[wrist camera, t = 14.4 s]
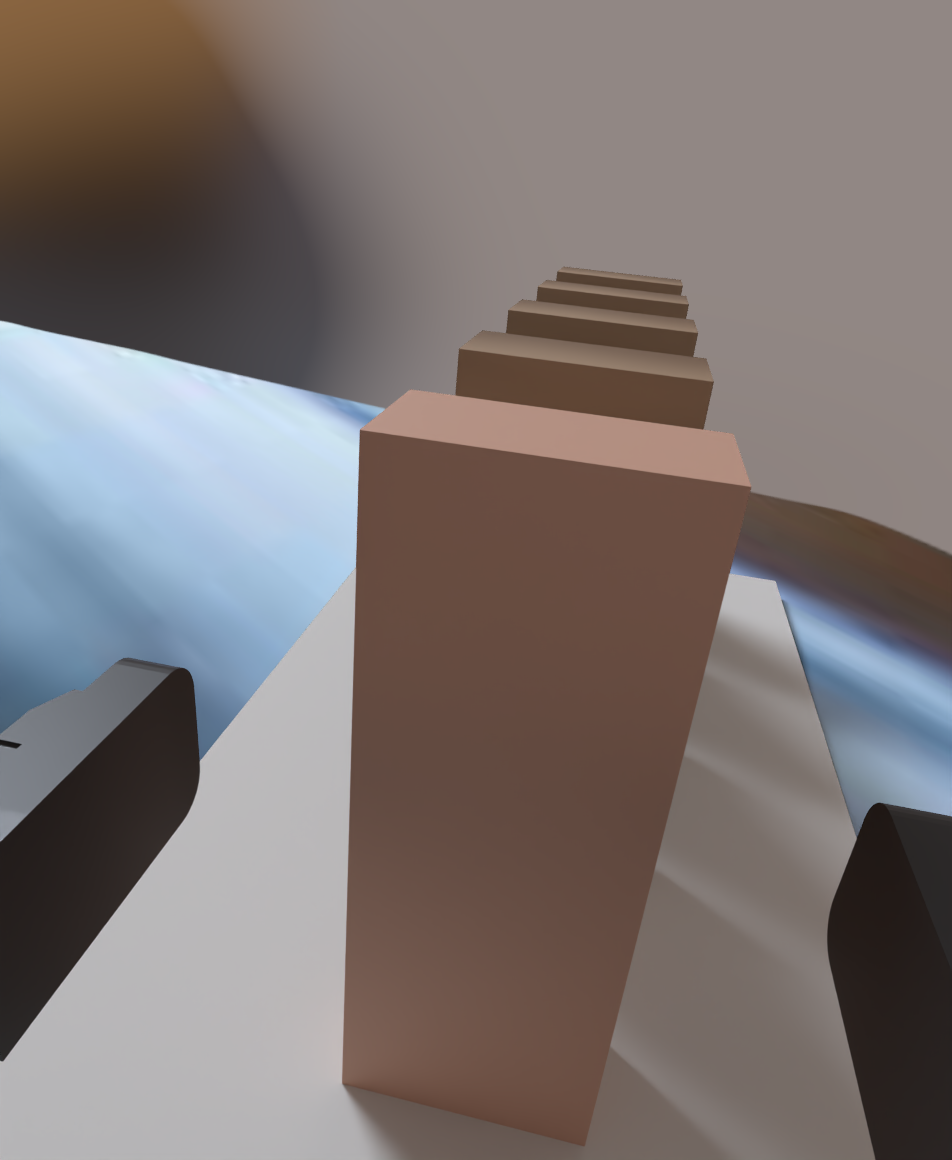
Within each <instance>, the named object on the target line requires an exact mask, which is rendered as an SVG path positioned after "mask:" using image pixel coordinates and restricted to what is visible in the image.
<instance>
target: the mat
mask: <svg viewBox="0 0 952 1160" xmlns="http://www.w3.org/2000/svg"><path fill="white" fill-rule="evenodd" d="M355 590H356V568H355V569H354V570H353V571H352V573H351V574H350V575H349V576H348V578H347V579H346V580H345V581H344V583H343V584H342V585H341V586H340V588H339V589H338V590H337V591H336V593H335V594H334V595H333V596H332V598H331V599H330V600H329V601H328V603H327V604H326V605H325V606H324V607H323V609H322V610H321V611H320V612H319V614H318V615H317V616H316V617H315V619H314V620H313V621H312V622H311V624H310V625H309V626H308V627H307V629H306V630H305V631H304V632H303V634H302V635H301V636H300V637H299V639H298V640H297V641H296V642H295V644H294V645H293V646H292V647H291V649H290V650H289V651H288V652H287V654H286V655H285V656H284V657H283V659H282V660H281V661H280V662H279V664H278V665H277V666H276V667H275V669H274V670H273V671H272V672H271V674H270V675H269V676H268V677H267V679H266V680H265V681H264V682H263V684H262V685H261V686H260V687H259V688H258V690H257V691H256V692H255V693H254V695H253V696H252V697H251V698H250V700H249V701H248V702H247V703H246V705H245V706H244V707H243V708H242V710H241V711H240V712H239V713H238V715H237V716H236V717H235V718H234V720H233V721H232V722H231V723H230V725H229V726H228V727H227V728H226V730H225V731H224V732H223V733H222V735H221V736H220V737H219V738H218V740H217V741H216V742H215V743H214V745H213V746H212V747H211V748H210V750H209V751H208V752H207V753H206V755H205V756H204V757H203V758H202V760H201V761H200V778H199V784H198V789H197V793H196V796H195V799H194V802H193V804H192V806H191V809H190V811H189V813H188V814H187V816H186V818H185V819H184V821H183V822H182V824H181V825H180V826H179V828H178V829H177V830H176V832H175V833H174V834H173V836H172V837H171V838H170V840H169V841H168V842H167V844H166V845H165V846H164V848H163V849H162V850H161V852H160V853H159V854H158V856H157V857H156V858H155V860H154V861H153V862H152V864H151V865H150V866H149V868H148V869H147V870H146V872H145V873H144V874H143V876H142V877H141V878H140V880H139V881H138V882H137V884H136V885H135V886H134V888H133V889H132V890H131V892H130V893H129V894H128V896H127V897H126V898H125V900H124V901H123V902H122V904H121V905H120V906H119V908H118V909H117V910H116V912H115V913H114V914H113V916H112V917H111V918H110V920H109V921H108V922H107V924H106V925H105V926H104V928H103V929H102V930H101V932H100V933H99V934H98V936H97V937H96V938H95V940H94V941H93V942H92V944H91V945H90V946H89V948H88V949H87V950H86V952H85V953H84V954H83V956H82V957H81V958H80V960H79V961H78V962H77V964H76V965H75V966H74V968H73V969H72V970H71V972H70V973H69V974H68V976H67V977H66V978H65V980H64V981H63V982H62V984H61V985H60V986H59V988H58V989H57V990H56V992H55V993H54V994H53V996H52V997H51V998H50V1000H49V1001H48V1002H47V1004H46V1005H45V1006H44V1008H43V1009H42V1010H41V1012H40V1013H39V1014H38V1016H37V1017H36V1018H35V1020H34V1021H33V1022H32V1024H31V1025H30V1026H29V1028H28V1029H27V1030H26V1032H25V1033H24V1034H23V1036H22V1037H21V1038H20V1040H19V1041H18V1042H17V1044H16V1045H15V1046H14V1048H13V1049H12V1050H11V1052H10V1053H9V1054H8V1056H7V1057H6V1058H5V1060H4V1061H3V1062H2V1061H0V1160H875V1156H874V1152H873V1147H872V1143H871V1139H870V1135H869V1130H868V1126H867V1122H866V1118H865V1113H864V1109H863V1105H862V1100H861V1096H860V1092H859V1088H858V1083H857V1079H856V1075H855V1071H854V1066H853V1062H852V1058H851V1053H850V1049H849V1045H848V1041H847V1036H846V1032H845V1028H844V1024H843V1019H842V1015H841V1011H840V1006H839V1002H838V998H837V994H836V989H835V985H834V981H833V977H832V972H831V968H830V963H829V958H828V949H827V929H828V919H829V913H830V909H831V905H832V902H833V899H834V896H835V893H836V891H837V888H838V886H839V883H840V881H841V878H842V875H843V873H844V870H845V868H846V865H847V863H848V860H849V857H850V855H851V852H852V850H853V847H854V845H855V842H856V840H857V838H856V835H855V831H854V828H853V825H852V822H851V819H850V816H849V812H848V809H847V806H846V803H845V800H844V797H843V793H842V790H841V787H840V784H839V781H838V778H837V775H836V771H835V768H834V765H833V762H832V759H831V756H830V752H829V749H828V746H827V743H826V740H825V737H824V733H823V730H822V727H821V724H820V721H819V718H818V714H817V711H816V708H815V705H814V702H813V699H812V695H811V692H810V689H809V686H808V683H807V680H806V676H805V673H804V670H803V667H802V664H801V661H800V657H799V654H798V651H797V648H796V645H795V642H794V638H793V635H792V632H791V629H790V626H789V623H788V619H787V616H786V613H785V610H784V607H783V604H782V600H781V597H780V594H779V591H778V588H777V585H776V581H771V580H765V579H759V578H753V577H747V576H740V575H734V574H729V577H728V581H727V585H726V589H725V593H724V597H723V601H722V605H721V609H720V613H719V617H718V621H717V625H716V629H715V633H714V637H713V641H712V645H711V649H710V653H709V657H708V661H707V665H706V668H705V672H704V676H703V680H702V684H701V688H700V692H699V696H698V700H697V704H696V708H695V712H694V716H693V720H692V724H691V728H690V732H689V736H688V740H687V744H686V748H685V752H684V756H683V760H682V763H681V767H680V771H679V775H678V779H677V783H676V787H675V791H674V795H673V799H672V803H671V807H670V811H669V815H668V819H667V823H666V827H665V831H664V835H663V839H662V843H661V847H660V851H659V854H658V858H657V862H656V866H655V870H654V874H653V878H652V882H651V886H650V890H649V894H648V898H647V902H646V906H645V910H644V914H643V918H642V922H641V926H640V930H639V934H638V938H637V942H636V945H635V949H634V953H633V957H632V961H631V965H630V969H629V973H628V977H627V981H626V985H625V989H624V993H623V997H622V1001H621V1005H620V1009H619V1013H618V1017H617V1021H616V1025H615V1029H614V1033H613V1037H612V1040H611V1044H610V1048H609V1052H608V1056H607V1060H606V1064H605V1068H604V1072H603V1076H602V1080H601V1084H600V1088H599V1092H598V1096H597V1100H596V1104H595V1108H594V1112H593V1116H592V1120H591V1124H590V1128H589V1131H588V1135H587V1139H586V1143H585V1146H581V1145H577V1144H573V1143H569V1142H565V1141H561V1140H558V1139H554V1138H550V1137H546V1136H542V1135H538V1134H534V1133H531V1132H527V1131H523V1130H519V1129H515V1128H511V1127H507V1126H504V1125H500V1124H496V1123H492V1122H488V1121H484V1120H480V1119H477V1118H473V1117H469V1116H465V1115H461V1114H457V1113H453V1112H449V1111H446V1110H442V1109H438V1108H434V1107H430V1106H426V1105H422V1104H419V1103H415V1102H411V1101H407V1100H403V1099H399V1098H395V1097H392V1096H388V1095H384V1094H380V1093H376V1092H372V1091H368V1090H365V1089H361V1088H357V1087H353V1086H349V1085H345V1084H342V1062H343V1025H344V989H345V953H346V917H347V880H348V844H349V808H350V771H351V735H352V699H353V663H354V626H355Z"/></svg>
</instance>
